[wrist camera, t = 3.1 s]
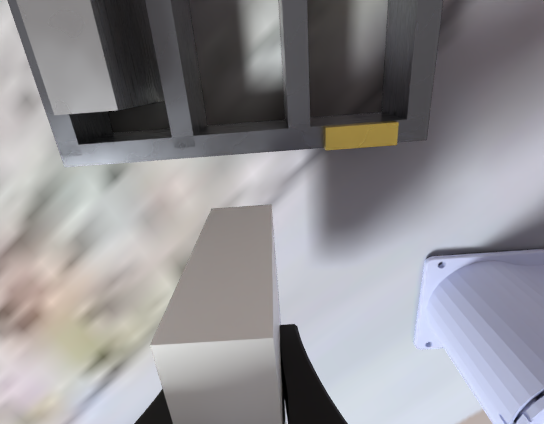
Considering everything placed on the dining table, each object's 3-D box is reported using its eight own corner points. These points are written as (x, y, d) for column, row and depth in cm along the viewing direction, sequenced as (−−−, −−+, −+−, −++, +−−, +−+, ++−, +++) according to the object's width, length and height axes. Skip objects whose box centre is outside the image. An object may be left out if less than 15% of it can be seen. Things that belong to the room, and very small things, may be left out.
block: (271, 204, 12) (273, 338, 6) (285, 382, 16) (295, 579, 10) (211, 208, 12) (150, 345, 6) (239, 384, 16) (220, 582, 10)
